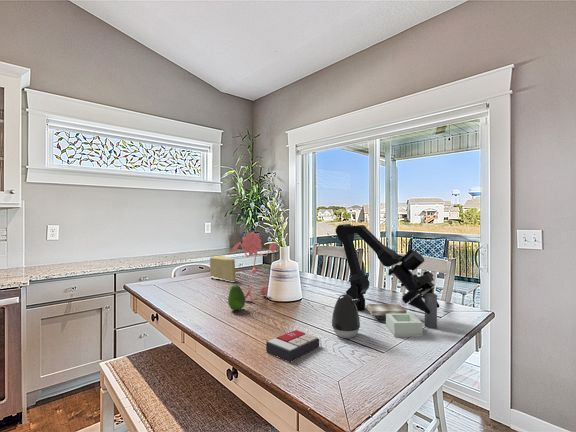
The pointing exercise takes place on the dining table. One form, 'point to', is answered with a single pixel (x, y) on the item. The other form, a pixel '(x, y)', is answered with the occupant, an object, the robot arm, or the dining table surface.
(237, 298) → the avocado
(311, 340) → the red and grey box
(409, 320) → the socket stand
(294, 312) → the dining table surface
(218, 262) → the cheese
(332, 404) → the dining table surface
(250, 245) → the figurine
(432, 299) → the dark grey block
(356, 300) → the dark egg shaped device
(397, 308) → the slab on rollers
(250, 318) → the dining table surface
